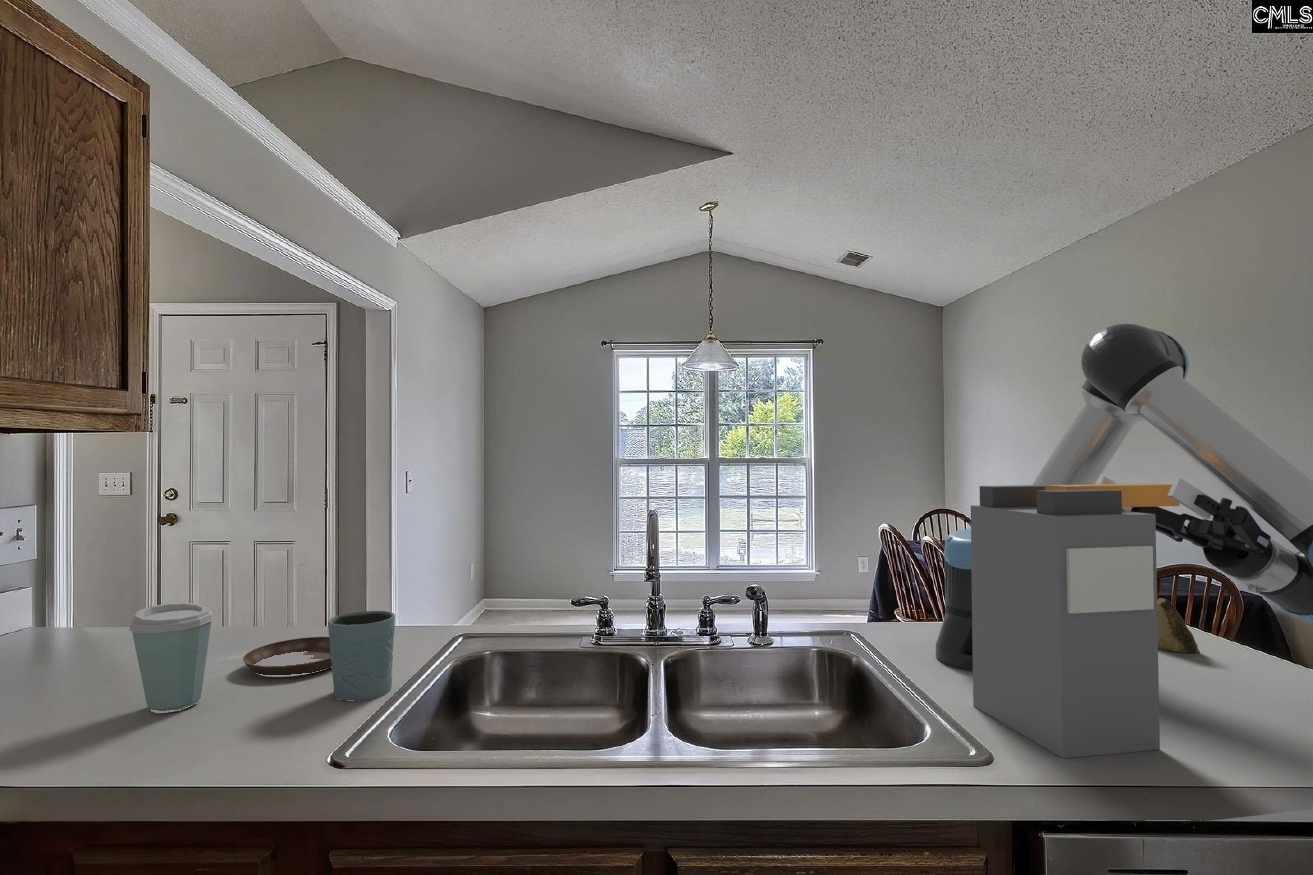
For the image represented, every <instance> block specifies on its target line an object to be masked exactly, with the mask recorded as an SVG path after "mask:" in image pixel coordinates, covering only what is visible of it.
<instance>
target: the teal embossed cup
mask: <svg viewBox="0 0 1313 875" xmlns="http://www.w3.org/2000/svg"><path fill="white" fill-rule="evenodd" d="M395 628H396V614H395V613H394V612H392V611H387V610H367V611H366V610H365V611H356V612H351V613H345V614H343V613H342V614H341V615H336V616H334V617H330V619H328V620H327V631H328V637H329V639H330V653H331V662H332V668H331V672H332V673H331V674H332V681H333V695H334V698H335V697H336V698H338V699H341V700H362V701H368V699H369V700H372V699H371V698H374V699H376V697H377V698H379V697H378V696H380V697H382V696H384V695H387V694H388V693H390V691H391V690H392V686H393V675H392V674H393V660H394V659H393V658H394V655H393V653H394V639H395V638H394V637H395ZM386 693H387V694H386ZM336 698H335V699H336ZM338 699H337V700H338ZM341 700H340V701H341Z"/></svg>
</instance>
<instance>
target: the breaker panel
mask: <svg viewBox="0 0 1313 875" xmlns="http://www.w3.org/2000/svg"><path fill="white" fill-rule="evenodd" d="M970 529H971V572H972V643H973V671H972V692H973V693H972V694H973V695H972V696H973V697H972V701H973V703H972V706H973V707H974V708H976V709H977V710H980V711H981V712H983V713H984V714H986V715H988V716H989V717H991V718H993V719H994V720H996V721H998V722H1000V723H1001V724H1003V725H1005V726H1006V727H1008V728H1010V729H1011V730H1013V731H1015V732H1017V733H1018V734H1020V735H1022V736H1024V738H1027V739H1029V740H1031V741H1032V742H1033V743H1035V744H1037V745H1039V746H1041V747H1042V748H1044V749H1045V750H1047V751H1049V752H1051V753H1052V754H1054V755H1056V756H1058V758H1059V757H1060V758H1061V759H1071V758H1084V757H1093V756H1102V755H1103V756H1105V755H1114V754H1124V753H1125V754H1126V753H1136V752H1138V753H1139V752H1148V751H1159V750H1161V745H1160V744H1161V742H1160V732H1161V731H1160V686H1159V676H1160V675H1159V648H1158V623H1157V600H1158V585H1157V584H1158V583H1157V578H1158V577H1157V531H1156V517H1155V514H1148V513H1138V512H1129V511H1122V491H1120V490H1105V489H1096V490H1045V485H1032V484H1030V485H1028V484H1027V485H1025V484H1023V485H1022V484H1021V485H1020V484H1019V485H1018V484H1017V485H979V505H977V504H976V505H970Z"/></svg>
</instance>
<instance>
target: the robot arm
mask: <svg viewBox="0 0 1313 875" xmlns="http://www.w3.org/2000/svg"><path fill="white" fill-rule="evenodd" d="M1080 360H1081V361H1080V362H1081V369H1082V373H1083V375H1084V377H1085V378H1086V380H1085V381H1084V383H1083V384H1082V386H1081V388H1080V392H1081V395H1082V397H1083V402H1082V404H1081V405H1080V407H1079V409H1078V410H1077V412H1076V413H1075V415H1074V417H1073V418H1072V420H1071V421H1070V423H1069V425H1068V426H1067V428H1066V430H1065V431H1064V432H1063V435H1062V436H1061V437H1060V439H1059V441H1058V442H1057V444H1056V446H1055V447H1054V448H1053V451H1052V452H1051V453H1050V455H1049V457H1048V458H1047V460H1046V462H1045V464H1044V465H1043V466H1042V468H1041V470H1040V471H1039V473H1038V475H1037V476H1036V478H1035V480H1034V481H1033V483H1032V484H1031V485H1085V484H1117V483H1116V482H1115V481H1113V480H1111V479H1109V478H1108V477H1107V476H1105V475H1102V474H1103V473H1104V470H1105V469H1106V468H1107V466H1108V464H1109V463H1110V462H1111V461H1112V459H1113V457H1114V455H1115V454H1116V453H1117V451H1118V449H1119V448H1120V446H1121V445H1122V443H1123V442H1124V440H1125V439H1126V437H1127V436H1128V435H1129V433H1130V432H1131V429H1132V428H1133V427H1134V425H1135V424H1136V423H1137V424H1138V423H1139V422H1142V421H1147V422H1148V423H1149V424H1150V425H1151V426H1153V427H1154V428H1155V429H1156V430H1158V431H1159V432H1160V433H1161V434H1162V435H1163V436H1164V437H1166V438H1167V439H1168V440H1169V441H1170V442H1172V443H1173V444H1174V445H1175V446H1177V447H1178V449H1179V450H1181V451H1182V452H1183V453H1184V454H1186V456H1189V458H1190V459H1191V460H1193V461H1194V462H1195V463H1196V464H1197V465H1199V467H1201V468H1203V470H1205V471H1206V472H1207V473H1208V474H1209V475H1210V476H1212V478H1214V479H1215V480H1216V481H1218V482H1219V483H1220V484H1221V486H1224V488H1226V489H1227V490H1228V491H1229V492H1231V493H1232V494H1233V495H1234V496H1235V497H1237V499H1239V500H1240V501H1241V502H1242V503H1243V504H1244V505H1246V506H1247V507H1248V508H1249V509H1250V510H1252V511H1253V512H1254V513H1256V514H1257V516H1259V517H1260V518H1261V519H1263V521H1265V522H1266V523H1267V524H1268V525H1269V526H1270V527H1272V528H1273V529H1274V530H1275V531H1277V533H1279V534H1280V535H1281V536H1283V537H1284V538H1285V539H1286V540H1288V542H1289V543H1290V544H1291V545H1293V547H1295V549H1296V550H1298V551H1297V552H1295V553H1294V551H1292V550H1290V549H1288V548H1287V547H1285V546H1284V545H1282V544H1280V543H1279V542H1278V541H1276V540H1274V539H1273V538H1272V537H1271V535H1270V534H1268V533H1267V532H1265V531H1264V530H1262V528H1261V526H1260V525H1259V524H1258V523H1257V521H1256V520H1255V518H1254V517H1253V515H1252V514H1251V513H1250V511H1249V510H1248V509H1247V508H1245V507H1244V506H1239V505H1237V506H1235V508H1231V506H1232V504H1233V500H1232V499H1230V498H1226V497H1221V499H1220V501H1219V502H1218V500H1216V499H1215V498H1214V497H1211V496H1210V495H1208V494H1207V493H1205V492H1203V491H1202V490H1200V489H1199V488H1197V487H1196V486H1194V485H1192V484H1190V483H1189V482H1188V481H1186V480H1184V478H1181V477H1175V478H1174V480H1173V482H1172V486H1171V489H1170V491H1169V493H1168V495H1167V496H1169V497H1171V498H1172V499H1174V500H1175V501H1177V502H1179V505H1182V506H1183V507H1185V508H1187V509H1189V511H1192V512H1193V513H1195V514H1196V515H1198V516H1199V517H1201V518H1199V517H1196V516H1193V515H1191V514H1188V513H1181V514H1179V513H1176V512H1173V511H1170V510H1167V509H1165V508H1163V507H1161V506H1156V507H1122V511H1129V512H1138V513H1148V514H1155V517H1156V532H1158V533H1160V534H1162V535H1165V536H1166V537H1168V538H1170V539H1171V540H1173V541H1175V542H1177V543H1182V542H1183V541H1184V540H1187V541H1189V542H1191V543H1192V545H1194V546H1198V547H1200V548H1202V551H1203V555H1204V557H1205V560H1207V562H1208V563H1209V564H1210V565H1212V566H1213V567H1215V568H1216V569H1218V570H1219V571H1221V572H1223V573H1225V574H1226V575H1227V576H1230V577H1231V578H1233V579H1235V580H1237V581H1238V582H1240V583H1242V584H1243V585H1244V586H1246V587H1247V590H1248V591H1249V592H1251V593H1255V592H1256V593H1258V594H1259V595H1261V596H1262V597H1264V598H1266V599H1267V600H1269V601H1270V602H1272V603H1273V604H1275V605H1276V606H1278V607H1279V608H1280V609H1282V610H1283V611H1285V612H1287V613H1289V614H1292V615H1293V616H1295V617H1297V618H1300V619H1302V620H1304V621H1306V622H1309V623H1313V480H1312V479H1311V478H1310V477H1308V476H1307V475H1306V474H1305V473H1303V472H1302V471H1301V470H1300V469H1298V468H1297V467H1296V466H1294V465H1293V464H1292V463H1291V462H1290V461H1288V460H1287V459H1285V458H1284V457H1283V456H1282V455H1281V454H1279V453H1278V452H1277V451H1275V450H1274V449H1273V448H1271V447H1270V446H1269V445H1268V444H1267V443H1265V442H1264V441H1263V440H1261V439H1260V438H1259V437H1258V436H1256V435H1255V434H1254V433H1252V432H1251V431H1250V430H1249V429H1248V428H1246V427H1245V426H1244V425H1242V424H1241V423H1240V422H1239V421H1237V420H1236V419H1235V418H1234V417H1233V416H1232V415H1230V414H1229V413H1227V412H1226V411H1225V410H1224V409H1222V408H1221V407H1220V406H1219V405H1217V404H1216V403H1215V402H1214V401H1212V400H1211V399H1209V398H1208V397H1207V396H1206V395H1204V394H1203V392H1201V391H1200V390H1198V388H1196V387H1194V386H1193V385H1192V384H1190V383H1189V382H1188V381H1187V380H1186V379H1187V376H1188V373H1189V368H1190V367H1189V366H1190V365H1189V364H1190V363H1189V357H1188V353H1187V352H1186V349H1185V348H1184V346H1183V345H1181V343H1180V342H1178V340H1177V339H1176V338H1174V336H1171V335H1169V334H1167V333H1166V332H1164V331H1159V330H1156V329H1153V328H1148V327H1146V326H1143V325H1140V324H1135V323H1118V324H1114V325H1110V326H1107V327H1105V328H1103V329H1101V330H1099V331H1098V332H1096V333H1095V334H1094V335H1093V336H1091V338H1090V339H1089V340H1088V341H1087V343H1086V344H1085V346H1084V348H1083V351H1082V354H1081V359H1080ZM1211 517H1212V520H1210V519H1211ZM1202 518H1203V519H1202ZM1186 521H1188V523H1187V526H1186V525H1185V522H1186ZM944 540H945V541H944V550H943V560H944V599H945V601H944V602H945V605H944V606H945V609H944V610H945V611H944V613H945V614H944V618H943V621H942V625H941V628H940V631H939V634H938V637H937V640H936V642H935V658H936V659H937V660H939V661H940V662H941V663H944V664H946V665H948V666H951V667H955V668H958V669H962V670H966V671H967V670H968V671H972V672H973V643H972V572H971V528H969V529H968V528H964V529H959V530H955V531H953V532H951V533H949V534H948V535H947V536H946V538H945V539H944Z"/></svg>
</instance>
